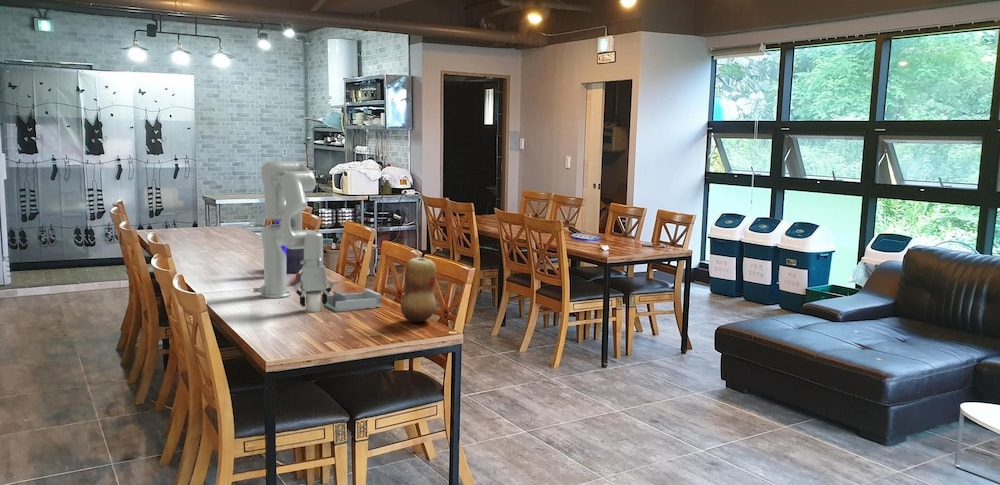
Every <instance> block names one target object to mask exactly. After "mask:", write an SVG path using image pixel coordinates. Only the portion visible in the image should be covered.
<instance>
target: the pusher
mask: <svg viewBox="0 0 1000 485" xmlns="http://www.w3.org/2000/svg"><path fill="white" fill-rule="evenodd" d="M342 294H343V293H340V292H338V291H336V290H333V292H332V295H333V304H334V305H333V306H335V302H338V301H345V295H342Z"/></svg>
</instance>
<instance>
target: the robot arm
mask: <svg viewBox="0 0 1000 485" xmlns="http://www.w3.org/2000/svg"><path fill="white" fill-rule="evenodd" d="M260 177H261V182H262V185H263V189H264V216H265V218H266V220H268V221H269V222H276V221H280V224H276V223H274V224H268V225H265V226H264V227H263V228H262V229H261V234H260V236H261V243H262V248H263V284H262V285H261V286H260V287H253V288H252V292H253V293H260V297H263V298H268V299H279V298H280V299H281V298H286V297H289V296H291V291H288V290H287V288H288V287H287V273H286V254H285V252H284V251H283V250H282V248H281V246H284V245H285V246H286V247H287V248H288V249H303V248H304V259H303V261H301V262H300V263H301V264H303V265H304V266H303V267H302V271H301V280H300V282H299V283H297V284H296V283H295V284H294V285H293V286H292V289H293V291H294V292H295V293H296V294H297V295H298V296H299V305H300V306H301V307H303V308H306V292H311V291H321V305H322V304H323V306H324V305H326V302H327V296H329V294H330V293H331V291H332V289H333V287H334V283H333V282H332V281H329V280H328V277H327V276H328V275H327V268H326V266H325V265H324V236H323V233H321V232H318V231H315V230H314V229H304V230H303V211H305V210H306V209H307V207H308V202H307V197H306V193H305V192H312V191H314V190H315V188H316V185H317V181H316V177H315V175H314V173H313V172H312V171H311V169H310V168H309V167H307V166H306V165H305V164H304V163H303V162H302V161H299V160H270V161H266V162H265V163H263V165H262V166H261V169H260ZM299 288H300V290H299Z"/></svg>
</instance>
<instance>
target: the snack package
mask: <svg viewBox="0 0 1000 485" xmlns="http://www.w3.org/2000/svg"><path fill="white" fill-rule="evenodd" d="M301 271H302V269H301V270H300V271H299V272H298V273H295V285H296V284H297V283H299V282H300V280H301Z"/></svg>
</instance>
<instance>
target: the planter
mask: <svg viewBox="0 0 1000 485" xmlns="http://www.w3.org/2000/svg"><path fill="white" fill-rule="evenodd" d="M303 259H304V248H303V249H288V248H287V272H286V274H297V273H298V272H299V271H300V270H301V269H302V267H303V266H304V265H303V264H301V263H300V262H301V261H303Z"/></svg>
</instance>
